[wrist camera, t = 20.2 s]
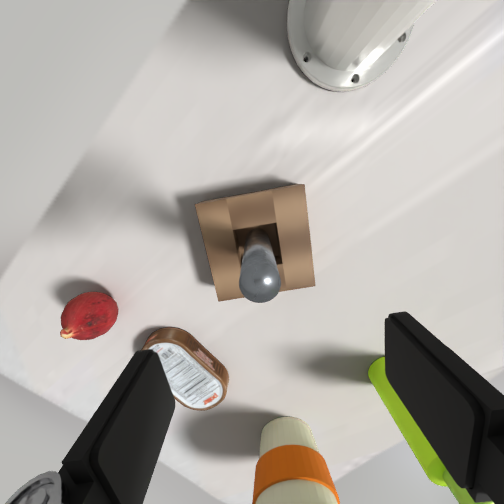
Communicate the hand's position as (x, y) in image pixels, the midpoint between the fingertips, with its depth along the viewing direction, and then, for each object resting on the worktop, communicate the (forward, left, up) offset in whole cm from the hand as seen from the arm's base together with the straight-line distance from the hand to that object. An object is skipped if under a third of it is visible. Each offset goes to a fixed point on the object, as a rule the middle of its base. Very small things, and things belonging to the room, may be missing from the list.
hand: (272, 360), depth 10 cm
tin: (+16, -11, -20) cm, 28 cm away
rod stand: (0, 0, -22) cm, 22 cm away
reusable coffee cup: (+36, -1, -22) cm, 43 cm away
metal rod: (0, 0, -21) cm, 21 cm away
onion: (+5, -23, -22) cm, 32 cm away
